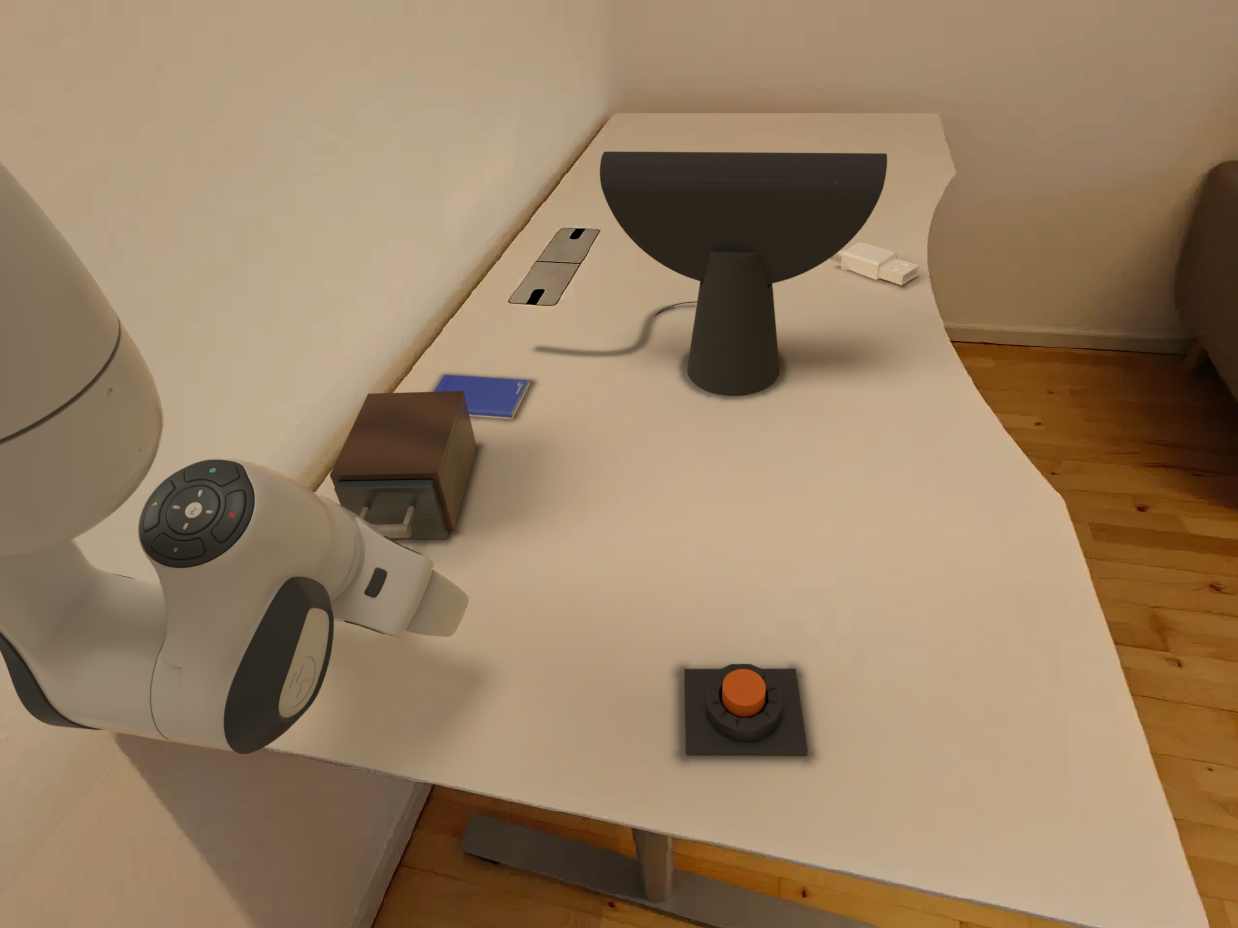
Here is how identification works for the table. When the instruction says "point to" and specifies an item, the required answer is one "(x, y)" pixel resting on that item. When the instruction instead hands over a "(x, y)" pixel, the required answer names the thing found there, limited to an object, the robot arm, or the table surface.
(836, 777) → the table surface
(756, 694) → the button
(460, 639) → the table surface
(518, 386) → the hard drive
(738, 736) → the block
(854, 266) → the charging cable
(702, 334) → the table lamp
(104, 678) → the robot arm
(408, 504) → the drawer
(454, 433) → the cabinet
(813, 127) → the table surface
